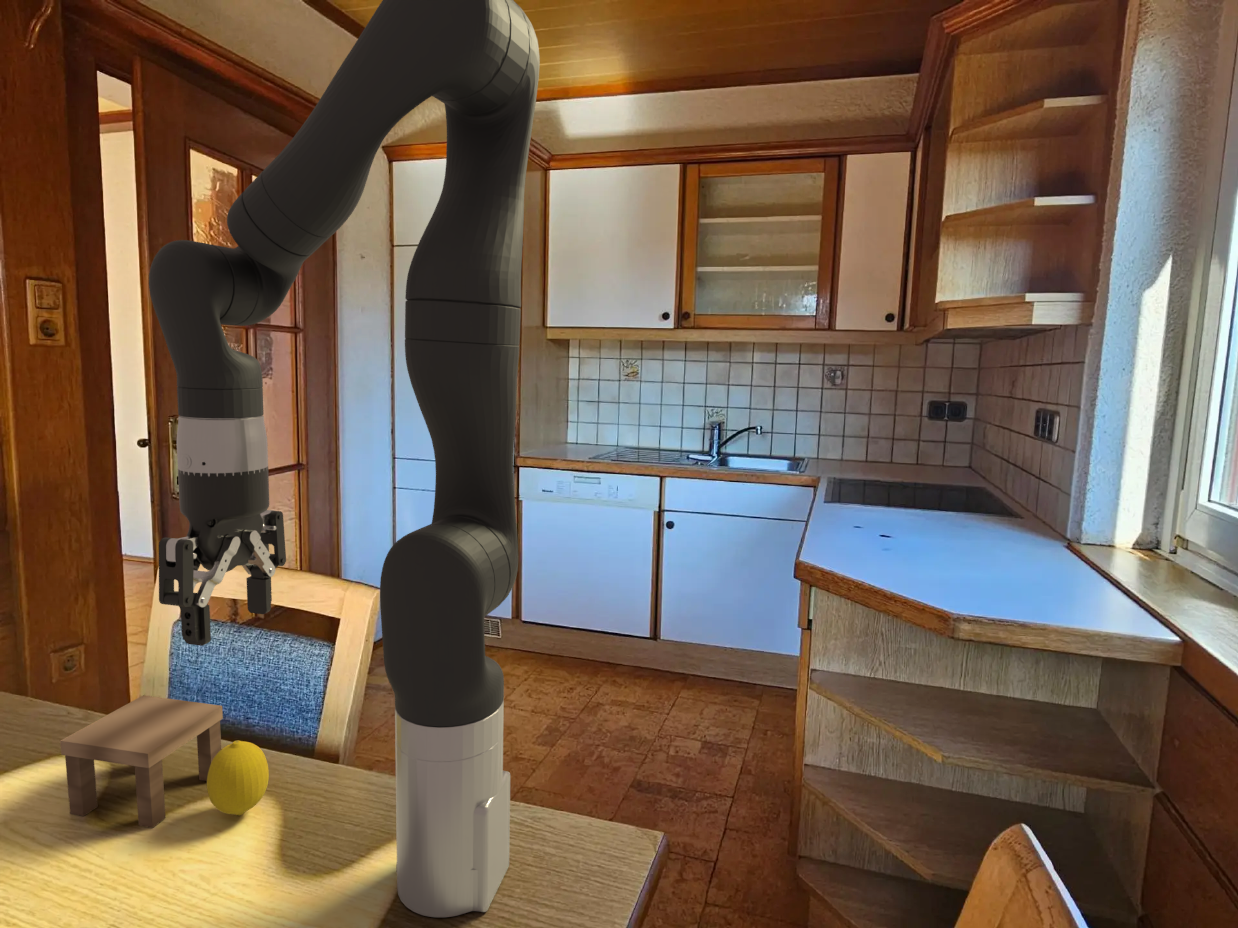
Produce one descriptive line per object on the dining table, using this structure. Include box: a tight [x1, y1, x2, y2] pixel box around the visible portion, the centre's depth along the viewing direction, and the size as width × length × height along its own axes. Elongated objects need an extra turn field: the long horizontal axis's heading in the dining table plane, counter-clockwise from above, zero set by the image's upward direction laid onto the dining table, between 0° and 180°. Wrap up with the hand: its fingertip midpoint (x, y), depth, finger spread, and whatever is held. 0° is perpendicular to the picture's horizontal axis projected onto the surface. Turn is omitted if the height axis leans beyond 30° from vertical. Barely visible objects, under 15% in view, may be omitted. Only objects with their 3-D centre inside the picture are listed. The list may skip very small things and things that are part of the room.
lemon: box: [206, 740, 270, 817], centre depth 73 cm, size 6×6×8 cm
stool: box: [59, 694, 224, 829], centre depth 76 cm, size 10×10×8 cm
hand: (230, 626), depth 71 cm, fingers open, 8 cm apart
